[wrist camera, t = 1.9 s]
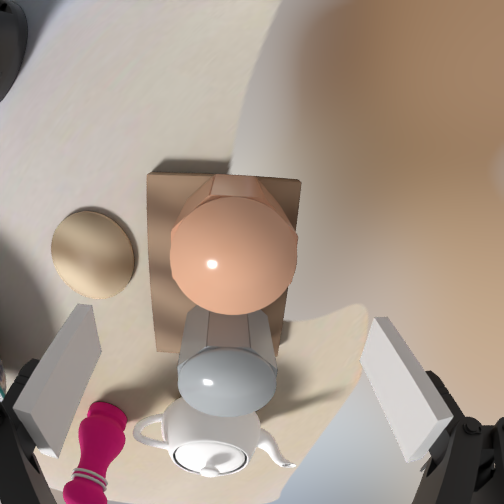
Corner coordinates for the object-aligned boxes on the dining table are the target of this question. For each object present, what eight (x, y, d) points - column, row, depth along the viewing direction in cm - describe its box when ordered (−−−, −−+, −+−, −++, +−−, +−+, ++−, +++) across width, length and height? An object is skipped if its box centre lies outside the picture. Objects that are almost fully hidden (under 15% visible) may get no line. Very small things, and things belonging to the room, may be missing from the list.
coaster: (48, 210, 29) (46, 212, 29) (131, 212, 30) (130, 213, 30) (61, 292, 33) (59, 295, 33) (137, 299, 34) (136, 302, 34)
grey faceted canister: (186, 292, 32) (174, 348, 24) (269, 295, 33) (282, 352, 25) (188, 355, 36) (181, 414, 27) (262, 357, 36) (270, 417, 28)
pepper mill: (85, 416, 42) (53, 517, 24) (89, 392, 40) (50, 505, 21) (126, 432, 44) (104, 536, 25) (134, 410, 41) (109, 527, 23)
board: (150, 172, 29) (146, 174, 28) (298, 179, 30) (301, 182, 29) (159, 343, 37) (156, 351, 35) (275, 347, 38) (277, 356, 36)
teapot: (139, 424, 43) (127, 480, 33) (143, 365, 38) (126, 430, 28) (273, 444, 46) (281, 498, 37) (304, 392, 42) (320, 454, 32)
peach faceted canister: (187, 172, 28) (169, 195, 19) (282, 178, 29) (304, 202, 20) (186, 260, 31) (172, 311, 23) (273, 264, 32) (288, 316, 23)
